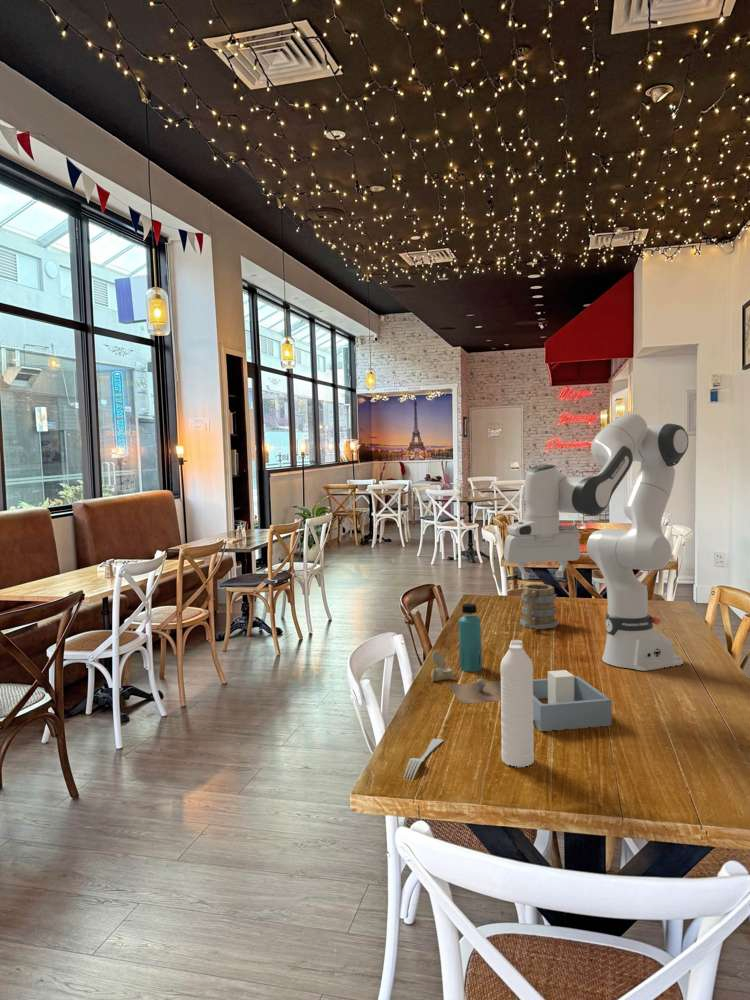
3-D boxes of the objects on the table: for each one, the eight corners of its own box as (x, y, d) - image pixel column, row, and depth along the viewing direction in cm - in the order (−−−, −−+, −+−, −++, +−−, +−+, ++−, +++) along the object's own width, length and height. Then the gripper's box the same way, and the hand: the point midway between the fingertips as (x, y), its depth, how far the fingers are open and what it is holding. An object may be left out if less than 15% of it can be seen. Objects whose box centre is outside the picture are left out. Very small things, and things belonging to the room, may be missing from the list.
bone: (452, 685, 180) (434, 650, 183) (433, 694, 183) (415, 660, 185) (463, 677, 188) (446, 644, 190) (445, 686, 190) (428, 654, 193)
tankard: (529, 618, 255) (529, 579, 254) (562, 623, 247) (562, 582, 246) (506, 631, 239) (506, 588, 238) (541, 636, 231) (540, 592, 230)
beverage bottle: (481, 677, 190) (480, 607, 189) (458, 676, 192) (456, 606, 190) (482, 670, 197) (481, 602, 195) (459, 669, 198) (458, 601, 196)
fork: (446, 751, 150) (446, 738, 150) (413, 783, 131) (413, 769, 131) (433, 749, 151) (433, 736, 151) (400, 781, 132) (400, 767, 132)
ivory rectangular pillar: (565, 706, 165) (565, 669, 164) (574, 713, 160) (574, 676, 160) (547, 707, 164) (547, 671, 164) (555, 715, 160) (555, 677, 159)
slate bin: (578, 699, 172) (578, 676, 172) (611, 725, 155) (611, 699, 155) (513, 704, 169) (513, 681, 169) (540, 732, 153) (540, 705, 152)
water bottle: (502, 752, 143) (500, 635, 141) (534, 755, 141) (533, 636, 139) (500, 771, 134) (498, 647, 133) (533, 774, 133) (532, 649, 131)
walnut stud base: (498, 686, 183) (497, 668, 182) (516, 705, 169) (516, 685, 169) (447, 690, 181) (447, 672, 180) (462, 709, 167) (461, 690, 167)
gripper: (573, 523, 184) (574, 574, 185) (501, 526, 181) (502, 578, 182) (584, 526, 178) (584, 578, 179) (509, 529, 175) (510, 582, 176)
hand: (542, 578), depth 181 cm, fingers open, 8 cm apart
